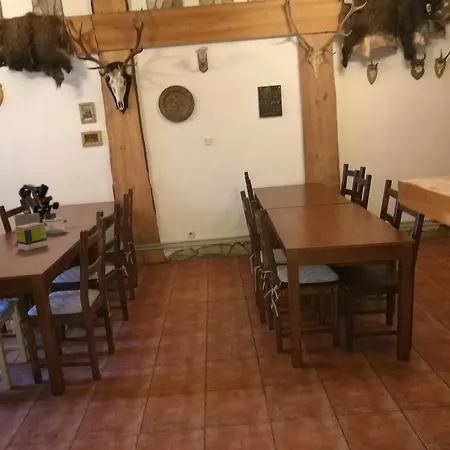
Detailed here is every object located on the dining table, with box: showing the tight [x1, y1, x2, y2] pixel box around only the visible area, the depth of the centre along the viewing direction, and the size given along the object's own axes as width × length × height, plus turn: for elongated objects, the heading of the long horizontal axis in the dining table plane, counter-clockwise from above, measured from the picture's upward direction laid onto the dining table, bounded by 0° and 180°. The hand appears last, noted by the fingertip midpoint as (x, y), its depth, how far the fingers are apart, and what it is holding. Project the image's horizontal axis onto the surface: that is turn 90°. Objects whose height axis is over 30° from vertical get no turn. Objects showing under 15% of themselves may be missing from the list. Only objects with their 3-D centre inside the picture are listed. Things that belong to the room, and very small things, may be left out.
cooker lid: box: [43, 212, 64, 223], centre depth 376 cm, size 14×14×4 cm
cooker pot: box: [43, 219, 68, 236], centre depth 376 cm, size 13×18×9 cm
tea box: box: [15, 222, 49, 251], centre depth 332 cm, size 15×10×15 cm, turn 141°
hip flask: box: [13, 210, 40, 242], centre depth 356 cm, size 16×4×20 cm, turn 104°
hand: (49, 215), depth 381 cm, fingers closed, pressing on cooker lid
